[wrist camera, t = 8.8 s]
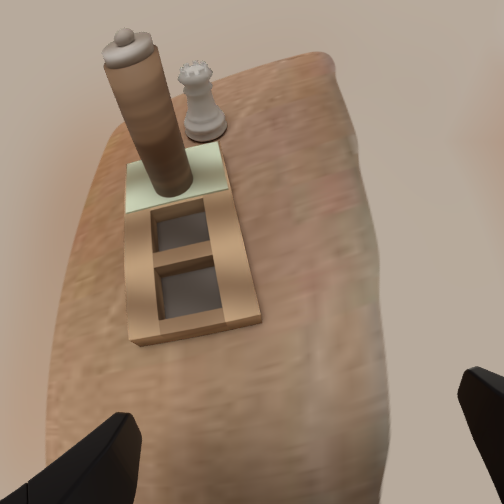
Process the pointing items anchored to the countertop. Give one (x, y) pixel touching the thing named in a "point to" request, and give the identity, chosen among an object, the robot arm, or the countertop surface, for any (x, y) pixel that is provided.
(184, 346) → the countertop surface
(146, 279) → the board
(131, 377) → the countertop surface
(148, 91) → the pepper mill
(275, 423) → the countertop surface
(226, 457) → the countertop surface
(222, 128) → the rook chess piece
